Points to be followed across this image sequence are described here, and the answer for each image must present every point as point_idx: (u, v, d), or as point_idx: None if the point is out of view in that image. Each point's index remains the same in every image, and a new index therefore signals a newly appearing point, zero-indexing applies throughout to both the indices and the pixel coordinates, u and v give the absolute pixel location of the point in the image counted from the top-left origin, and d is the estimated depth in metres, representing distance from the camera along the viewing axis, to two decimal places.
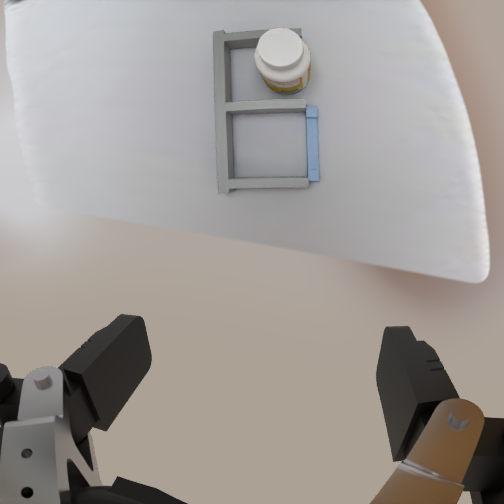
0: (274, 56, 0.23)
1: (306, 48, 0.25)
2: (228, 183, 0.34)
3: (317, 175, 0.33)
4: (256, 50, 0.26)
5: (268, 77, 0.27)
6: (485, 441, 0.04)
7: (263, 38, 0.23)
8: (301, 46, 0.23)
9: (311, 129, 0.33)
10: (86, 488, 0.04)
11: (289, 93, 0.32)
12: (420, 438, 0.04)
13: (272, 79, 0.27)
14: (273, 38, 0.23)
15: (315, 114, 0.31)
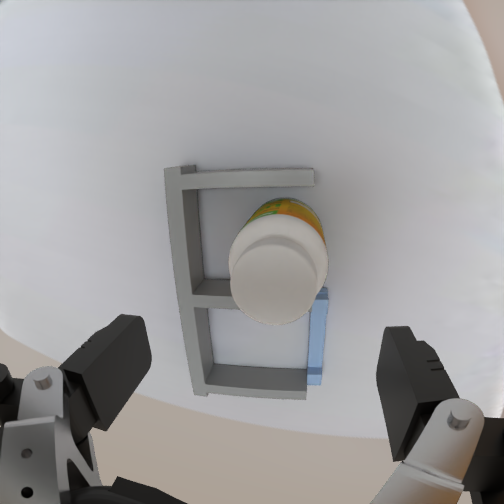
0: (261, 306, 0.15)
1: (322, 259, 0.16)
2: (205, 387, 0.25)
3: (319, 380, 0.25)
4: (231, 256, 0.17)
5: None
6: (485, 441, 0.04)
7: (240, 268, 0.14)
8: (313, 290, 0.14)
9: (317, 322, 0.24)
10: (86, 488, 0.04)
11: None
12: (420, 438, 0.04)
13: None
14: (260, 270, 0.14)
15: (324, 310, 0.23)
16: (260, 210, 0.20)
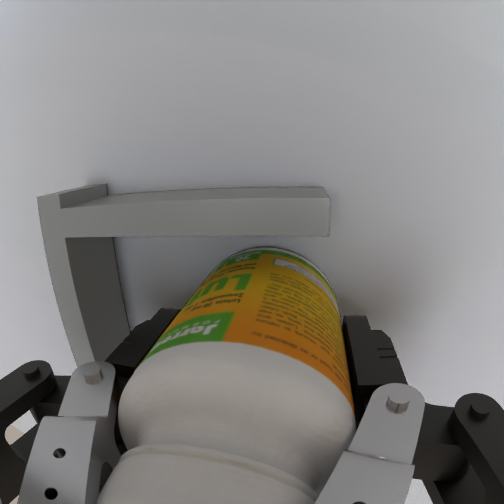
0: None
1: None
2: None
3: None
4: (120, 426, 0.06)
5: None
6: (428, 428, 0.05)
7: None
8: None
9: None
10: None
11: None
12: (360, 425, 0.05)
13: None
14: None
15: None
16: (205, 289, 0.09)
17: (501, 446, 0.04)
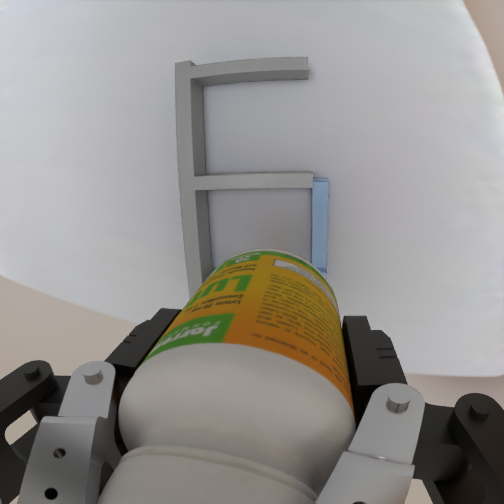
0: None
1: None
2: None
3: None
4: (121, 427, 0.06)
5: None
6: (428, 428, 0.05)
7: None
8: None
9: (319, 212, 0.24)
10: None
11: None
12: (360, 425, 0.05)
13: None
14: None
15: (325, 193, 0.23)
16: (205, 290, 0.09)
17: (501, 446, 0.04)
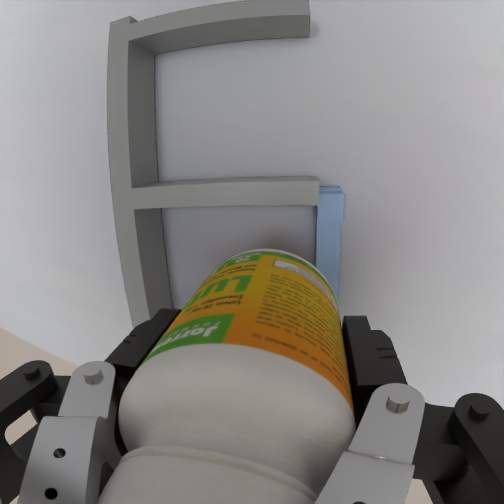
0: None
1: None
2: None
3: None
4: (120, 428, 0.06)
5: None
6: (428, 428, 0.05)
7: None
8: None
9: (328, 240, 0.16)
10: None
11: None
12: (360, 425, 0.05)
13: None
14: None
15: (339, 213, 0.14)
16: (205, 291, 0.09)
17: (501, 446, 0.04)
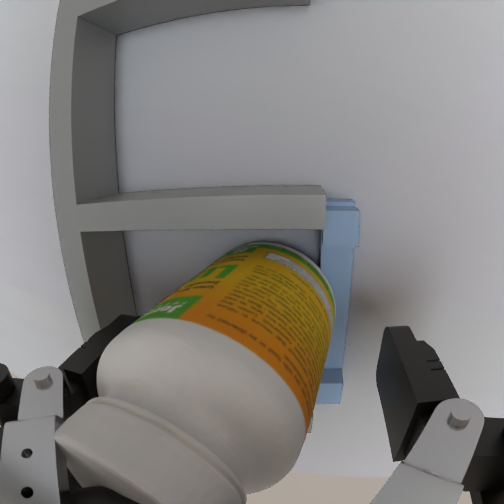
0: None
1: (277, 449, 0.05)
2: None
3: (337, 394, 0.12)
4: None
5: None
6: (485, 441, 0.04)
7: None
8: None
9: (335, 271, 0.12)
10: (86, 488, 0.04)
11: None
12: (420, 438, 0.04)
13: None
14: (88, 477, 0.04)
15: (352, 238, 0.10)
16: (195, 277, 0.10)
17: None
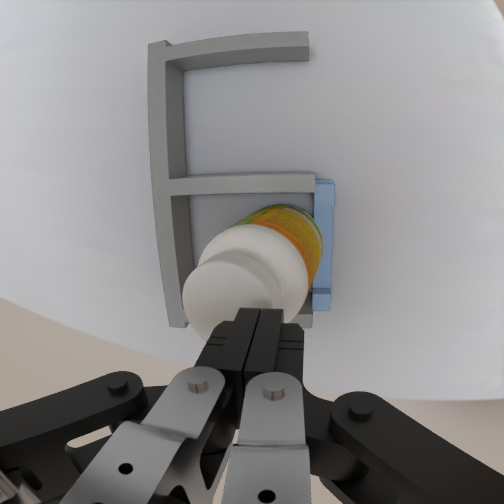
0: None
1: (295, 279, 0.13)
2: (183, 314, 0.21)
3: (327, 303, 0.20)
4: None
5: None
6: (306, 420, 0.06)
7: (191, 285, 0.12)
8: None
9: (323, 221, 0.20)
10: None
11: None
12: (242, 418, 0.05)
13: None
14: (211, 289, 0.12)
15: (331, 199, 0.18)
16: (246, 218, 0.18)
17: (397, 443, 0.04)
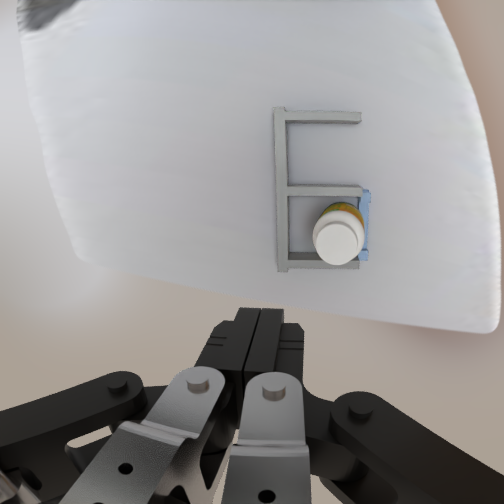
0: (330, 254, 0.29)
1: (361, 234, 0.30)
2: (287, 263, 0.37)
3: (366, 255, 0.37)
4: (314, 231, 0.32)
5: None
6: (306, 420, 0.06)
7: (321, 234, 0.29)
8: (355, 247, 0.28)
9: (363, 211, 0.36)
10: None
11: None
12: (242, 419, 0.05)
13: None
14: (331, 236, 0.29)
15: (368, 200, 0.35)
16: (329, 208, 0.34)
17: (397, 443, 0.04)
